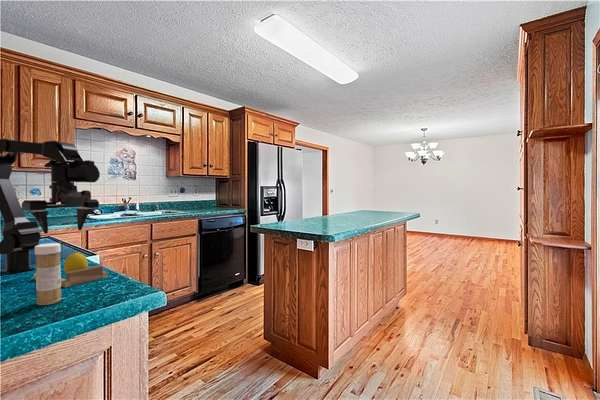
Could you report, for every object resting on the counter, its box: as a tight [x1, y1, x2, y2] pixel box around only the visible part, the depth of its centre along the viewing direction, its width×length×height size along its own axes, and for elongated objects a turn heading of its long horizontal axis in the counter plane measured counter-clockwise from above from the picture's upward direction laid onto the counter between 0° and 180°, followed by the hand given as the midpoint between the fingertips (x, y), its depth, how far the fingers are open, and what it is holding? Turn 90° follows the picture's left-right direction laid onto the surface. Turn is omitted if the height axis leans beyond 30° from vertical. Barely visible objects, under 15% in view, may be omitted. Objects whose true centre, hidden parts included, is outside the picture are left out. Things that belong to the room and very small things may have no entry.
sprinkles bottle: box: [34, 242, 62, 306], centre depth 69 cm, size 5×5×13 cm
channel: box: [33, 265, 108, 288], centre depth 89 cm, size 17×11×4 cm, turn 63°
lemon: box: [63, 251, 89, 275], centre depth 87 cm, size 6×6×8 cm
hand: (63, 231), depth 95 cm, fingers open, 9 cm apart
